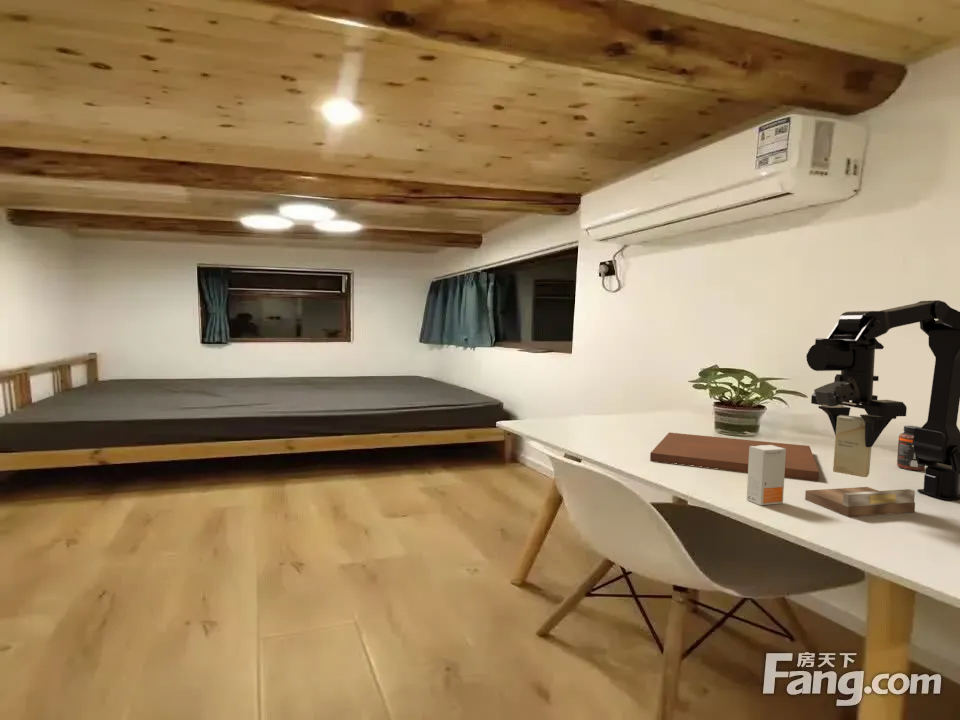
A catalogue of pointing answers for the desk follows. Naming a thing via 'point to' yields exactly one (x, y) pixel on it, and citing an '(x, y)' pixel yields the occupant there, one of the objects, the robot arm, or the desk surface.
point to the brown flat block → (863, 500)
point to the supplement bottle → (907, 450)
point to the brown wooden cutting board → (730, 454)
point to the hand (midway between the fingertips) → (853, 443)
